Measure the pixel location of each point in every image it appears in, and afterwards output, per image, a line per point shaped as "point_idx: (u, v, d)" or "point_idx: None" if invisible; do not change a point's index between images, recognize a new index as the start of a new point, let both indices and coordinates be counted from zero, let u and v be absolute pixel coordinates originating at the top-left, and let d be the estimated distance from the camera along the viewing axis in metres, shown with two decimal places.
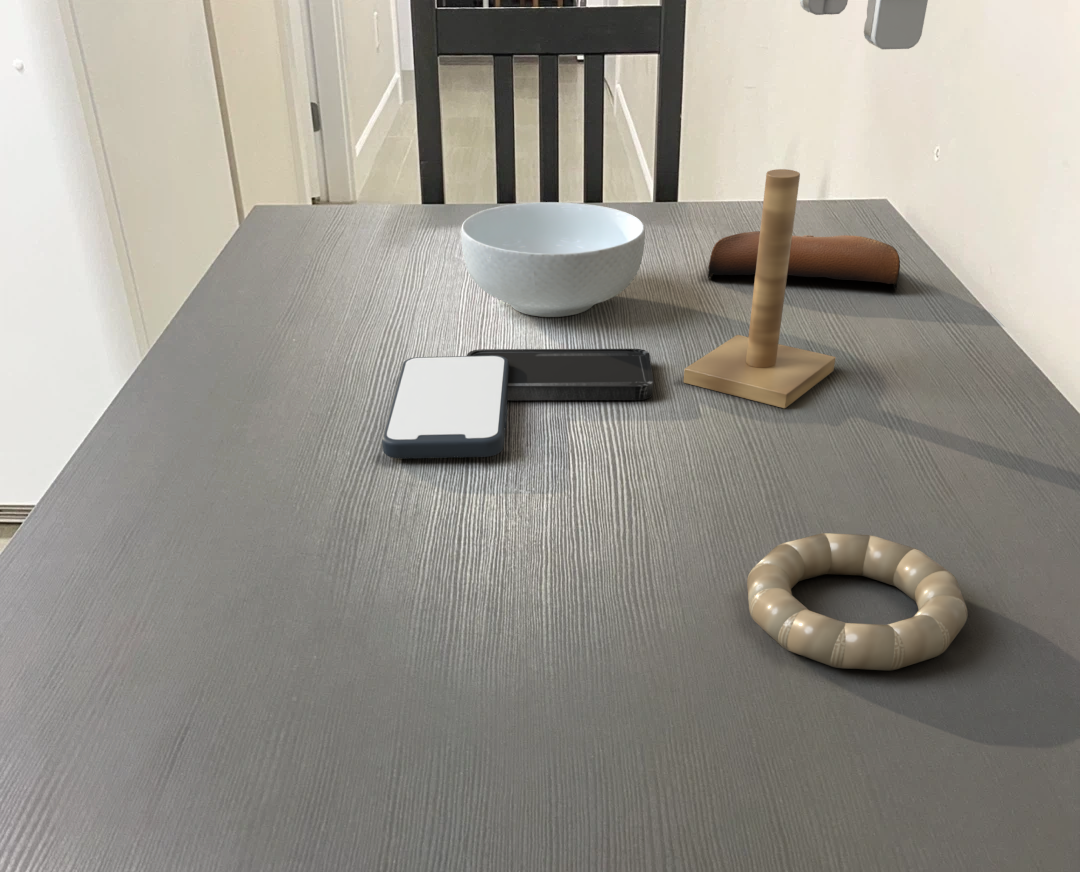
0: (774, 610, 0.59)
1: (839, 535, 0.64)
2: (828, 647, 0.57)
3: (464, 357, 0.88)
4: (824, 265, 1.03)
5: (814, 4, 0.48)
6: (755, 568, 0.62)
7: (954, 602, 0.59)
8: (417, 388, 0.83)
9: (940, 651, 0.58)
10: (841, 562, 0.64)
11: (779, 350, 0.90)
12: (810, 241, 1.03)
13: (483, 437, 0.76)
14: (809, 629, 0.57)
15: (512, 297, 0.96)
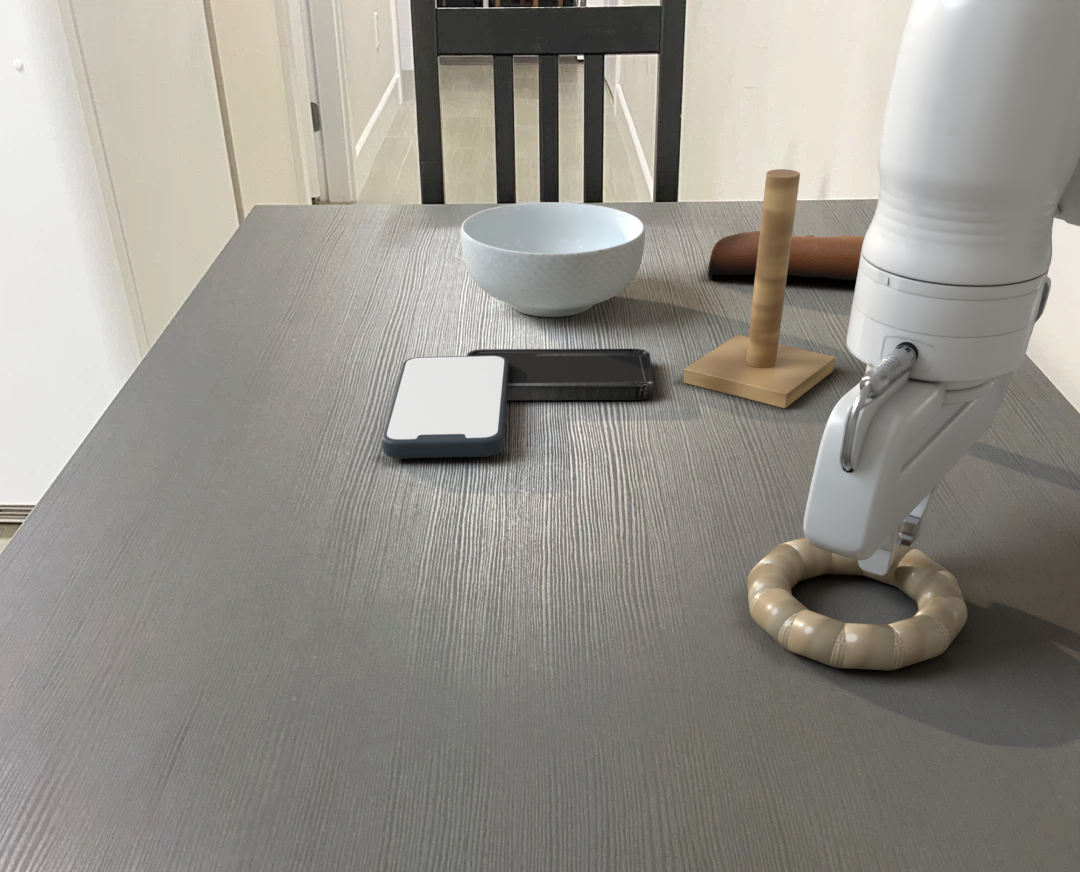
0: (774, 610, 0.59)
1: None
2: (828, 647, 0.57)
3: (464, 357, 0.88)
4: (824, 265, 1.03)
5: None
6: (755, 568, 0.62)
7: (954, 602, 0.59)
8: (417, 388, 0.83)
9: (940, 651, 0.58)
10: (841, 562, 0.64)
11: (779, 350, 0.90)
12: (810, 241, 1.03)
13: (483, 436, 0.76)
14: (809, 629, 0.57)
15: (512, 297, 0.96)
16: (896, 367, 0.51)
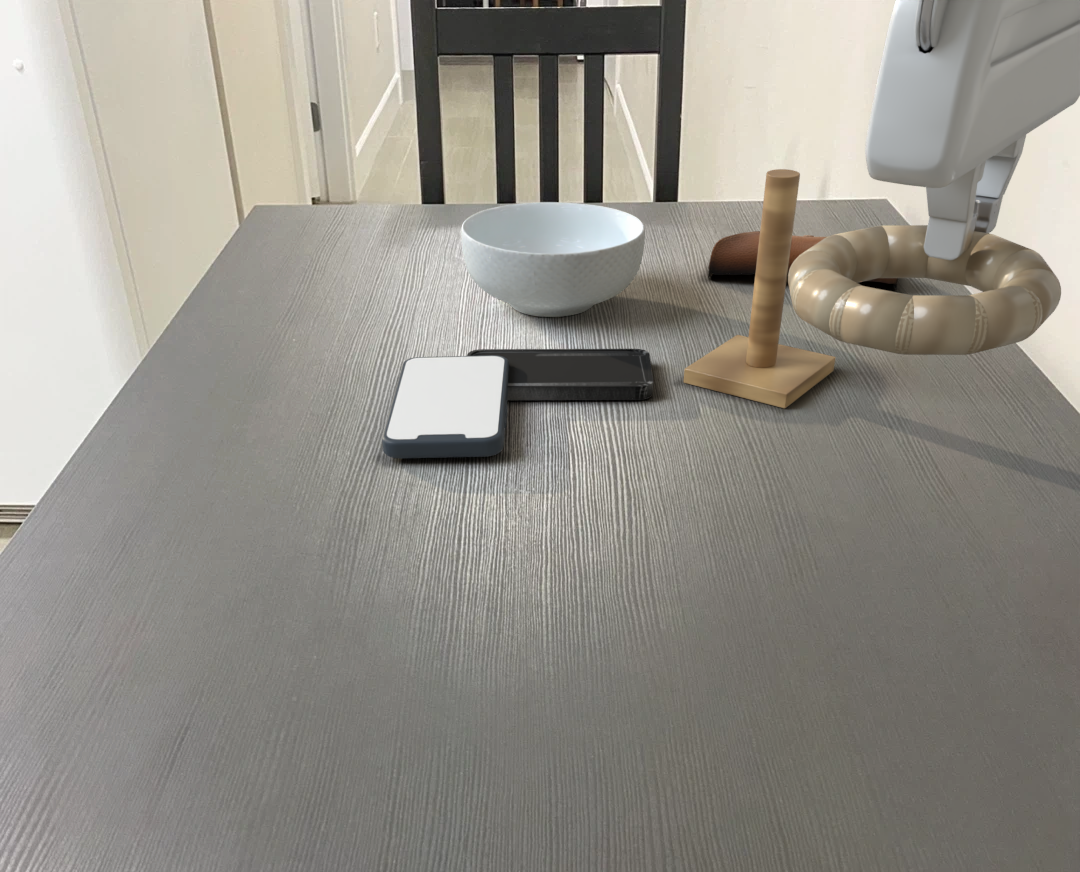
0: (824, 290, 0.48)
1: (898, 226, 0.53)
2: (893, 323, 0.46)
3: (464, 357, 0.88)
4: None
5: None
6: (798, 257, 0.51)
7: (1046, 274, 0.48)
8: (417, 388, 0.83)
9: (1031, 329, 0.47)
10: (901, 257, 0.53)
11: (779, 350, 0.90)
12: (810, 241, 1.03)
13: (483, 436, 0.77)
14: (868, 304, 0.47)
15: (512, 297, 0.96)
16: None
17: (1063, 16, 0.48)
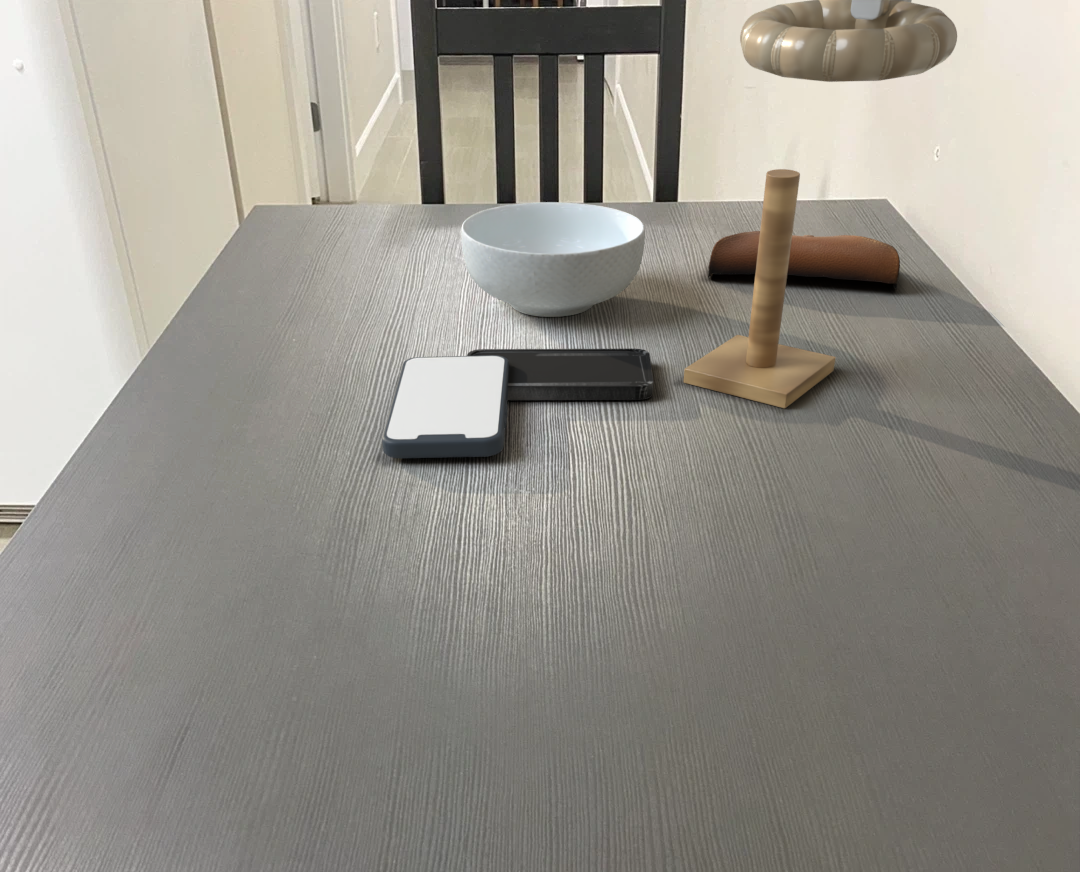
0: (766, 33, 0.60)
1: None
2: (820, 50, 0.58)
3: (464, 357, 0.88)
4: (824, 264, 1.03)
5: None
6: (748, 18, 0.63)
7: (944, 18, 0.60)
8: (417, 388, 0.83)
9: (930, 58, 0.59)
10: (833, 23, 0.65)
11: (779, 350, 0.90)
12: (810, 241, 1.03)
13: (483, 436, 0.77)
14: (800, 37, 0.58)
15: (512, 297, 0.96)
16: None
17: None
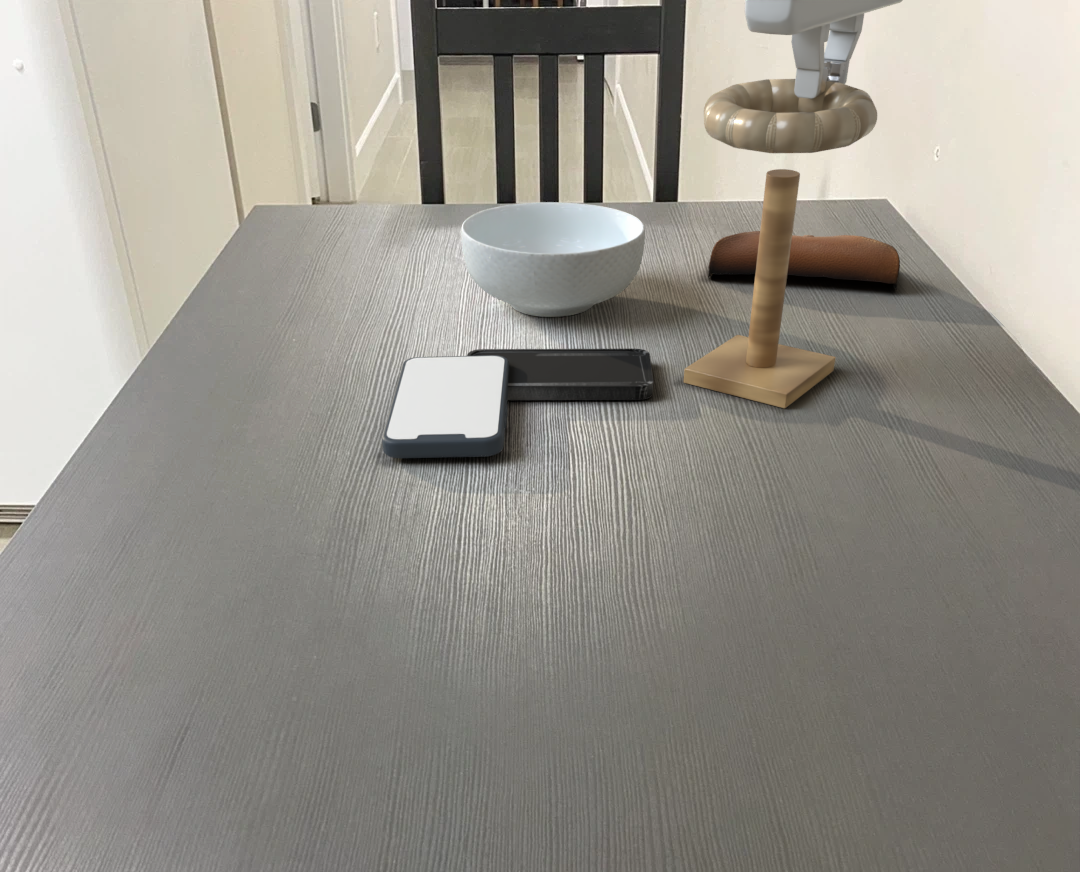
0: (722, 113, 0.74)
1: (779, 79, 0.79)
2: (764, 130, 0.72)
3: (464, 357, 0.88)
4: (824, 265, 1.03)
5: None
6: None
7: (865, 102, 0.74)
8: (417, 388, 0.83)
9: (853, 135, 0.73)
10: (780, 99, 0.79)
11: (779, 350, 0.90)
12: (810, 241, 1.03)
13: (483, 436, 0.77)
14: (748, 118, 0.73)
15: (512, 297, 0.96)
16: None
17: None
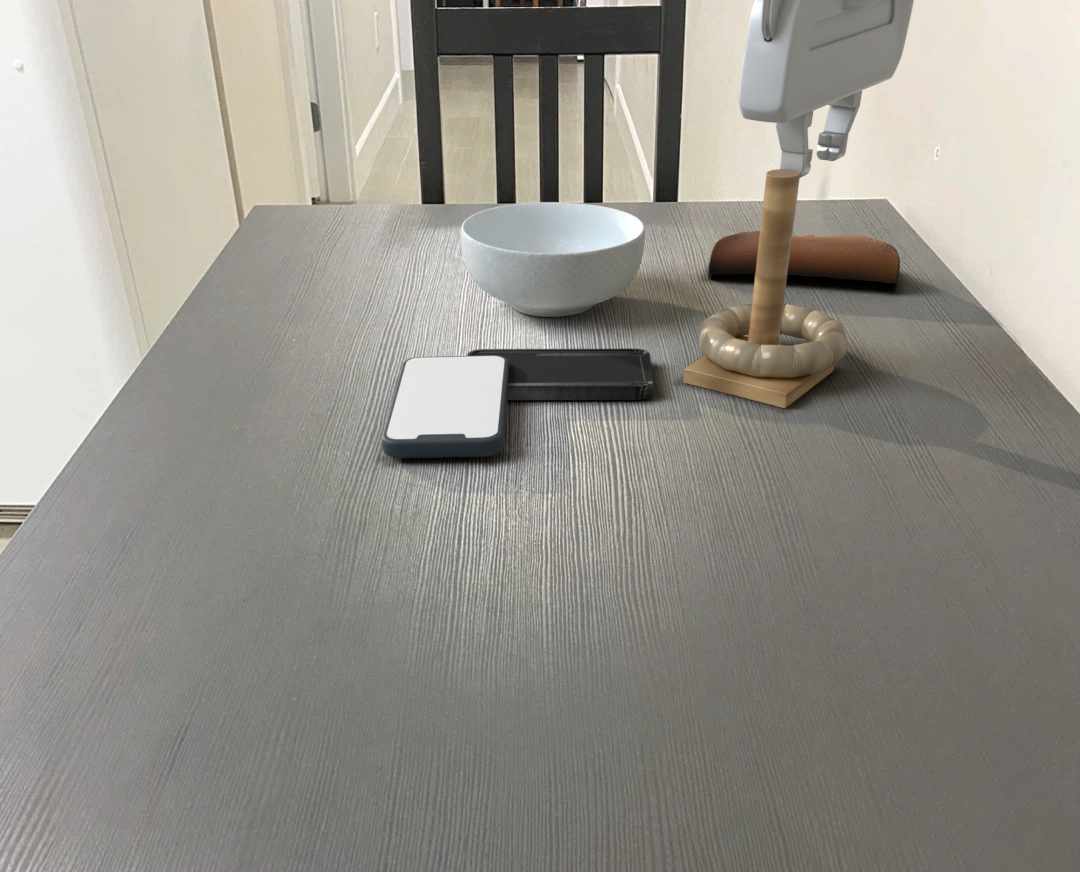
0: (715, 340, 0.86)
1: None
2: (750, 359, 0.84)
3: (464, 357, 0.88)
4: (824, 264, 1.03)
5: (820, 153, 0.84)
6: (704, 321, 0.89)
7: (838, 335, 0.86)
8: (417, 388, 0.83)
9: (827, 365, 0.85)
10: None
11: None
12: (810, 241, 1.03)
13: (483, 436, 0.77)
14: (737, 348, 0.85)
15: (512, 297, 0.96)
16: None
17: (869, 21, 0.78)
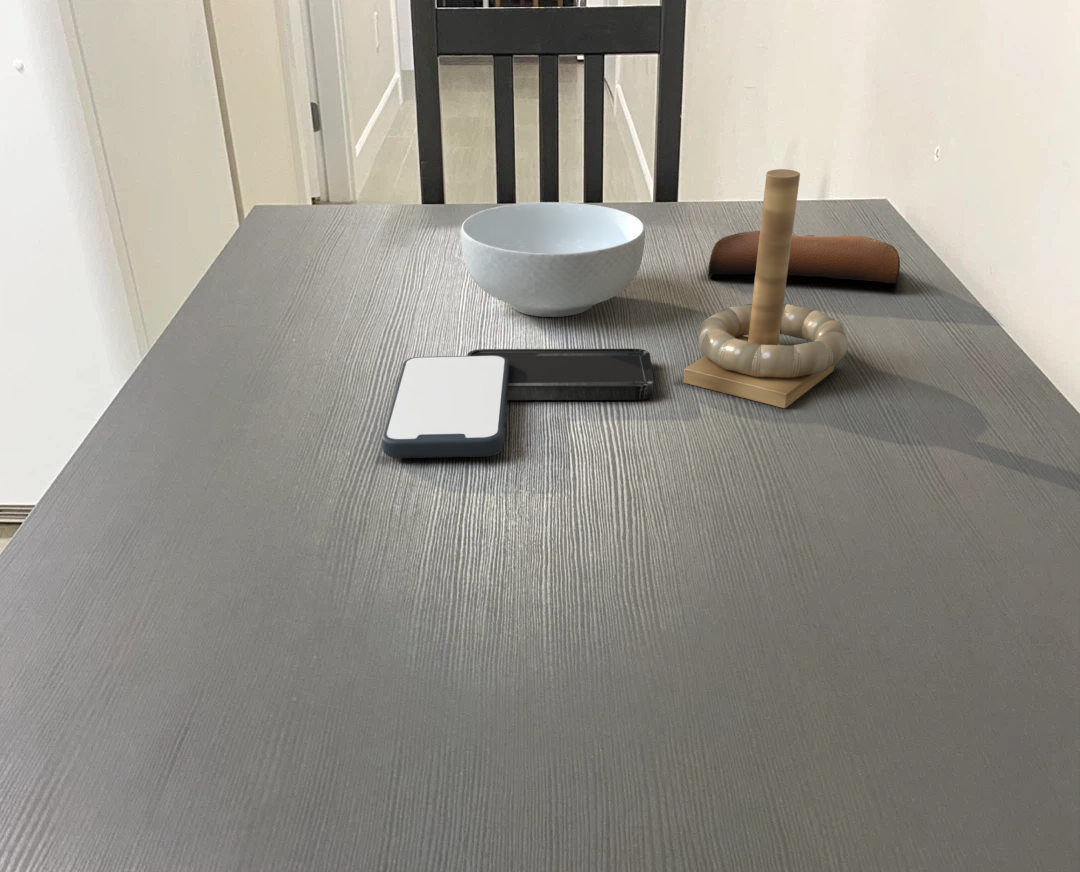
0: (715, 340, 0.86)
1: None
2: (750, 359, 0.84)
3: (464, 357, 0.88)
4: (824, 264, 1.03)
5: None
6: (704, 321, 0.89)
7: (838, 335, 0.86)
8: (417, 388, 0.83)
9: (827, 365, 0.85)
10: None
11: None
12: (810, 241, 1.03)
13: (483, 436, 0.77)
14: (737, 348, 0.85)
15: (512, 297, 0.96)
16: None
17: None
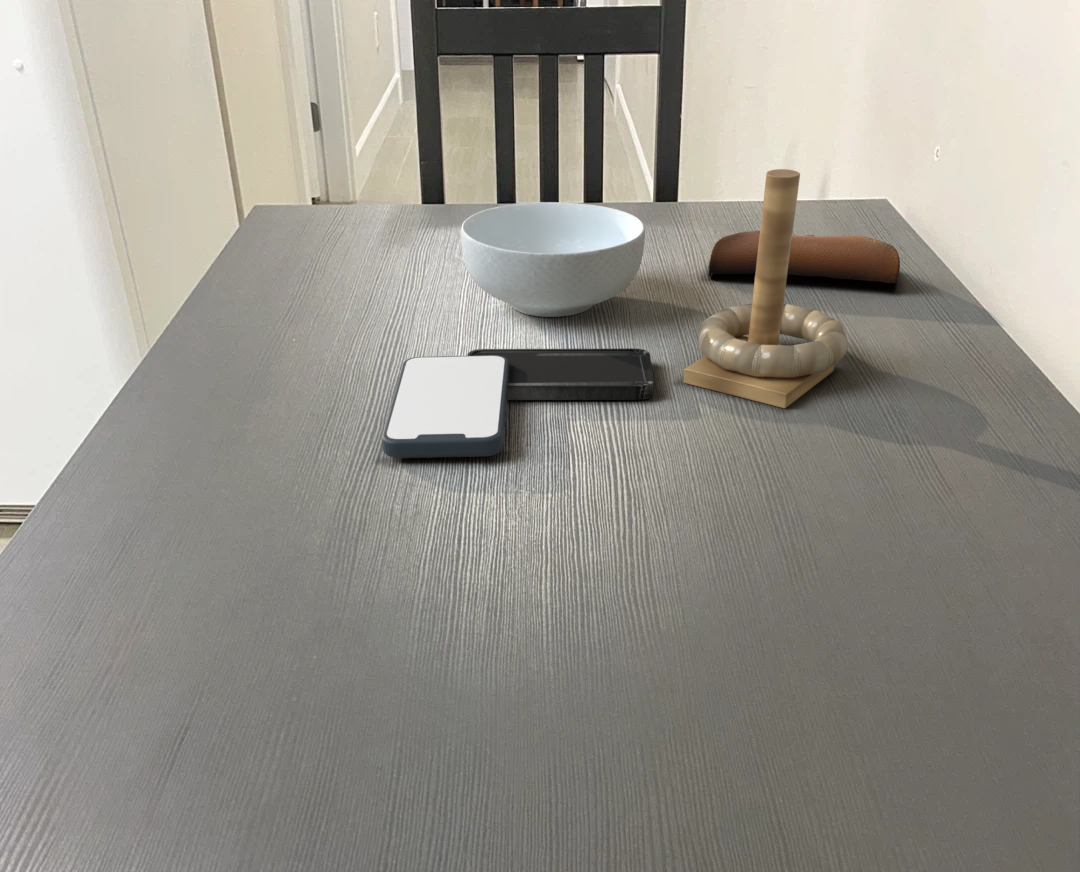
0: (715, 340, 0.86)
1: None
2: (750, 359, 0.84)
3: (464, 357, 0.88)
4: (824, 264, 1.03)
5: None
6: (704, 321, 0.89)
7: (838, 335, 0.86)
8: (417, 388, 0.83)
9: (827, 365, 0.85)
10: None
11: None
12: (810, 240, 1.03)
13: (483, 436, 0.77)
14: (737, 348, 0.85)
15: (512, 297, 0.96)
16: None
17: None
